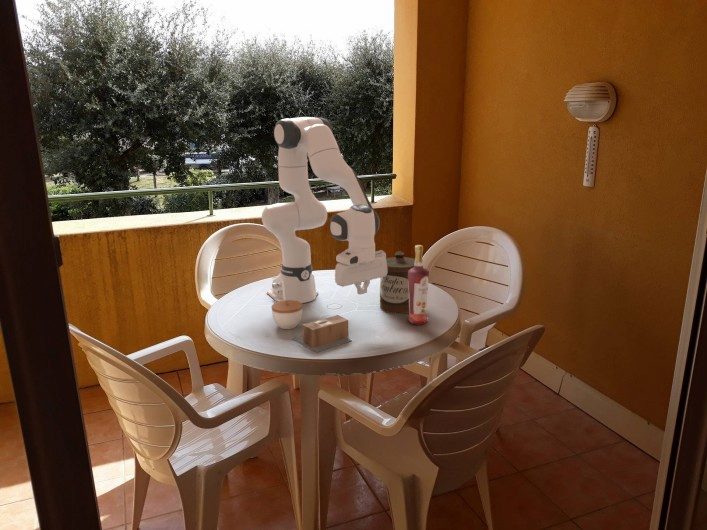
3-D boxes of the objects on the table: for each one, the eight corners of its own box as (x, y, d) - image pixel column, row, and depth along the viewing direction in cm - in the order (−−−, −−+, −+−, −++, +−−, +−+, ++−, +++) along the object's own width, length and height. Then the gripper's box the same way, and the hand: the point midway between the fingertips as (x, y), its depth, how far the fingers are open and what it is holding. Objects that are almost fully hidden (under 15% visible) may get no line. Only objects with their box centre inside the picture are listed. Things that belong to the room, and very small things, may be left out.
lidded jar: (288, 318, 204) (287, 293, 201) (309, 324, 197) (308, 299, 194) (266, 326, 196) (264, 301, 193) (287, 334, 189) (286, 308, 186)
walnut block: (338, 331, 190) (303, 341, 182) (337, 314, 188) (302, 323, 180) (348, 336, 185) (313, 347, 177) (348, 319, 184) (312, 329, 176)
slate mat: (292, 338, 185) (292, 338, 185) (326, 328, 193) (326, 327, 193) (316, 352, 174) (316, 351, 174) (351, 341, 183) (351, 340, 183)
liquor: (416, 328, 193) (418, 249, 185) (402, 322, 198) (403, 245, 191) (432, 323, 197) (434, 246, 189) (418, 317, 203) (419, 242, 195)
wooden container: (373, 310, 210) (373, 254, 204) (388, 299, 223) (388, 245, 217) (411, 316, 204) (412, 258, 198) (423, 303, 217) (425, 249, 211)
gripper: (379, 247, 194) (379, 285, 198) (331, 257, 182) (332, 297, 186) (391, 250, 189) (391, 289, 193) (343, 261, 177) (344, 302, 181)
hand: (362, 293), depth 189 cm, fingers closed
